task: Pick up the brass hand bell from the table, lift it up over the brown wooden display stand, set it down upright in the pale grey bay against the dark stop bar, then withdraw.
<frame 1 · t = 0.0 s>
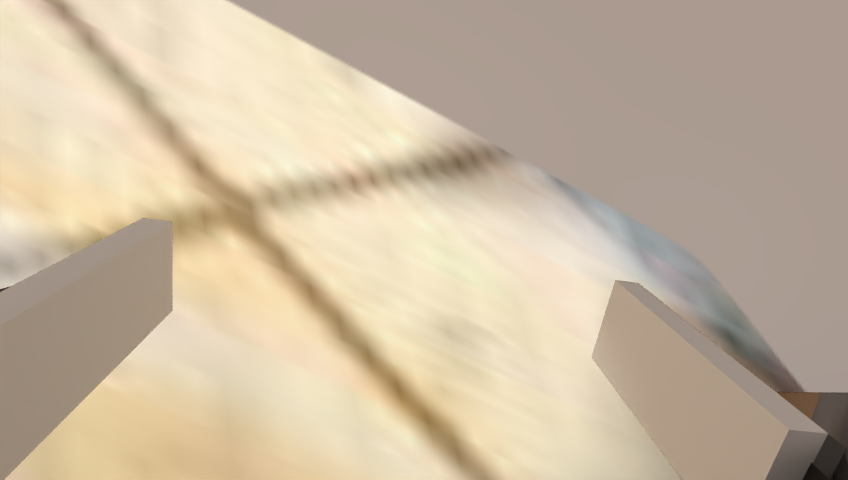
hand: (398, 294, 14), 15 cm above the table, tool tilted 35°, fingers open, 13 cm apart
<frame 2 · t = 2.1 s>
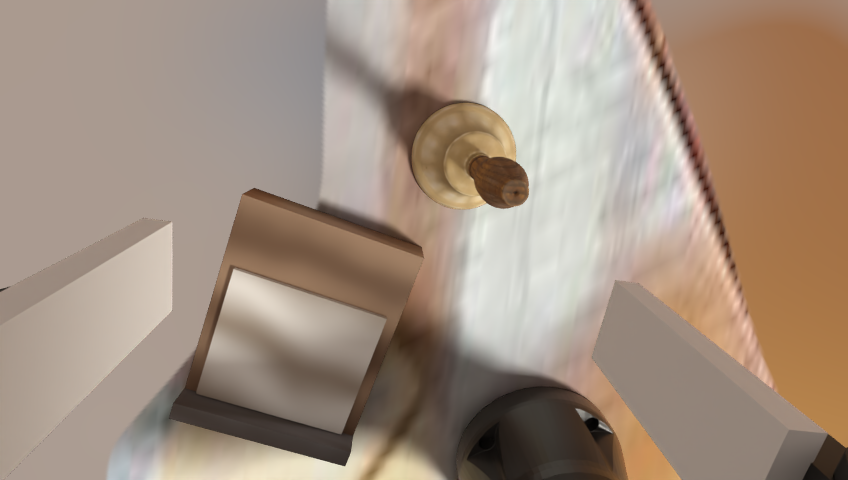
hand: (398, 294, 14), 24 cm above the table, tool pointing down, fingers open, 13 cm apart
brown wooden display stand: (306, 316, 39), on the table
hand bell: (463, 157, 37), on the table
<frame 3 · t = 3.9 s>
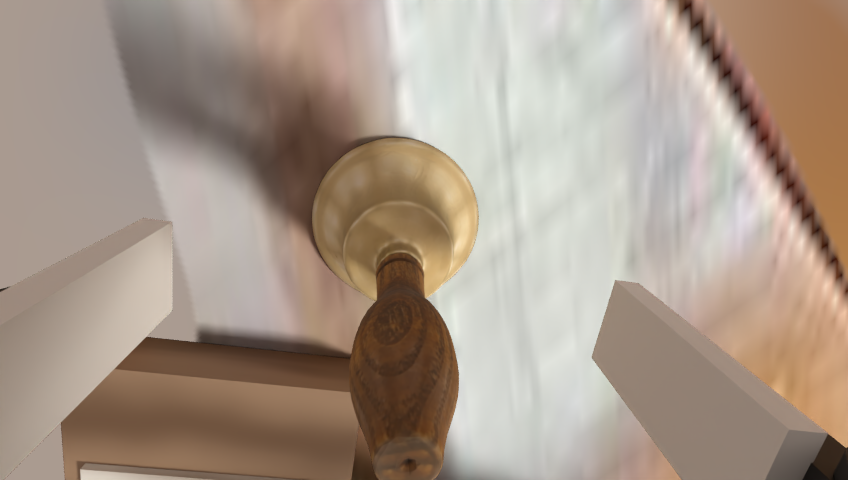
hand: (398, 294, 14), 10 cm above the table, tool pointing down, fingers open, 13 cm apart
hand bell: (396, 220, 24), on the table
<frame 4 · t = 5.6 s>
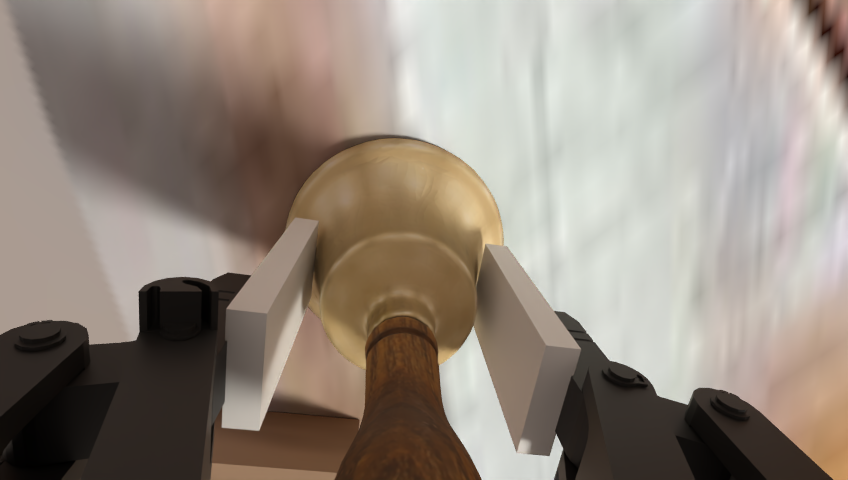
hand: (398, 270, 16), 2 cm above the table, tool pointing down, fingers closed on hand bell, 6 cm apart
hand bell: (396, 245, 18), on the table, touching gripper
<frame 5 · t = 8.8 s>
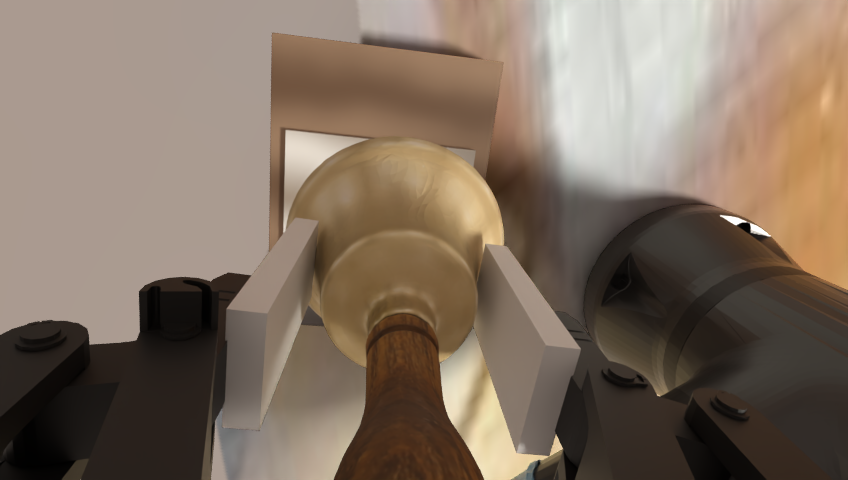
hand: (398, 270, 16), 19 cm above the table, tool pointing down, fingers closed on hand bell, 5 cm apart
brown wooden display stand: (379, 184, 34), on the table
hand bell: (396, 244, 18), point 16 cm above the table, touching gripper
when the fingers open (7 cm above the table, at t = 12.0 s): hand bell drops 1 cm, resting on brown wooden display stand.
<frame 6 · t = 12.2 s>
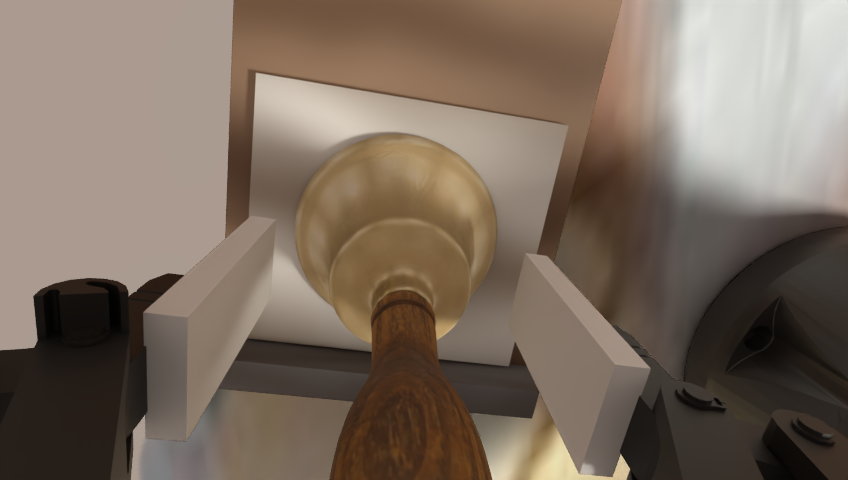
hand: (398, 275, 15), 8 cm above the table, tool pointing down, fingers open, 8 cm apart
brown wooden display stand: (402, 175, 22), on the table
hand bell: (397, 234, 19), point 3 cm above the table, touching brown wooden display stand
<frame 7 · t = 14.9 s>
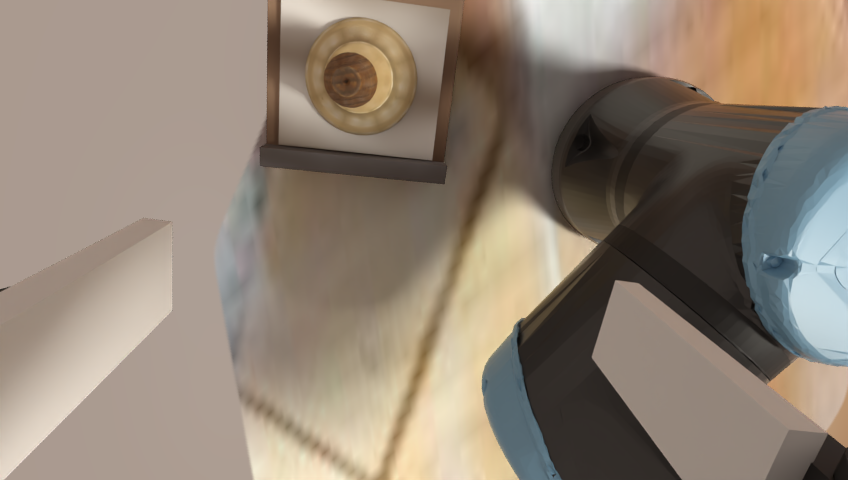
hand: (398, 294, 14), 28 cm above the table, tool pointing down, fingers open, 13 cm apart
brown wooden display stand: (365, 53, 37), on the table
hand bell: (362, 78, 35), point 3 cm above the table, touching brown wooden display stand
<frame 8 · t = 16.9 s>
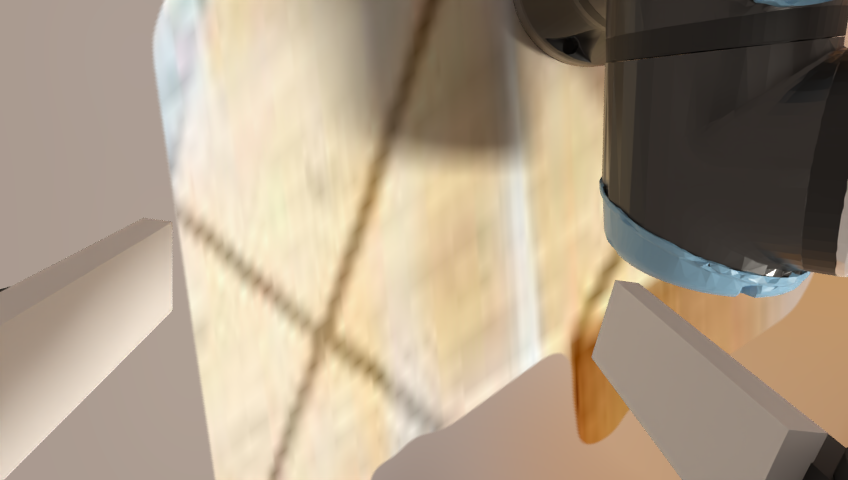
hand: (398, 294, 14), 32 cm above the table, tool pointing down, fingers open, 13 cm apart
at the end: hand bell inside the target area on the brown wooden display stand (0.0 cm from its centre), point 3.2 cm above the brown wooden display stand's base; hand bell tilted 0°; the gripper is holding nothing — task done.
